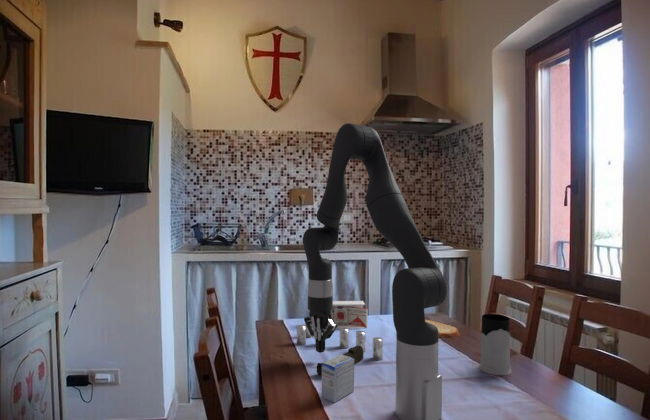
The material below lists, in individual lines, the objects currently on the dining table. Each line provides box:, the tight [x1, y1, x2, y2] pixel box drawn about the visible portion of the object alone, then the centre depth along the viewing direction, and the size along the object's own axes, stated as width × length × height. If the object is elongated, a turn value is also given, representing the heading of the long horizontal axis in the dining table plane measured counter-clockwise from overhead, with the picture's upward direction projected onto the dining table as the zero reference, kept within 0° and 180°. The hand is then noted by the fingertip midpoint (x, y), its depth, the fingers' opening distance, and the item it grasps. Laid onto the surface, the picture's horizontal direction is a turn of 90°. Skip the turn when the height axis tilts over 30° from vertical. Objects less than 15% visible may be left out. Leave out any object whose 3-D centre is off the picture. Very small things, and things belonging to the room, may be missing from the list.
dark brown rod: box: [316, 345, 364, 378], centre depth 119 cm, size 19×4×5 cm, turn 135°
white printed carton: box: [331, 300, 369, 330], centre depth 159 cm, size 20×6×9 cm, turn 93°
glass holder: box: [478, 313, 512, 376], centre depth 121 cm, size 9×14×15 cm, turn 178°
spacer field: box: [296, 322, 384, 361], centre depth 135 cm, size 33×13×6 cm, turn 43°
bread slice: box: [425, 319, 460, 339], centre depth 155 cm, size 18×18×4 cm
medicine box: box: [321, 354, 355, 403], centre depth 102 cm, size 8×4×9 cm, turn 141°
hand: (320, 351), depth 123 cm, fingers closed
